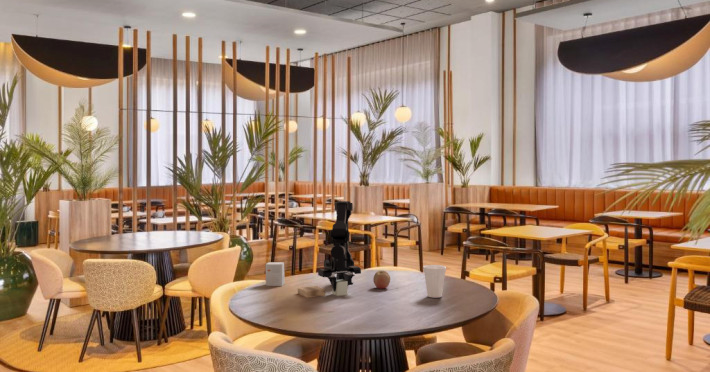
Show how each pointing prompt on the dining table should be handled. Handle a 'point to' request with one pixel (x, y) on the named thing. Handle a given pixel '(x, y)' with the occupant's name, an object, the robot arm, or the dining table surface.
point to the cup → (434, 279)
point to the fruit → (381, 279)
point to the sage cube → (341, 288)
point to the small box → (275, 274)
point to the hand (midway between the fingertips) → (339, 290)
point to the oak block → (311, 291)
